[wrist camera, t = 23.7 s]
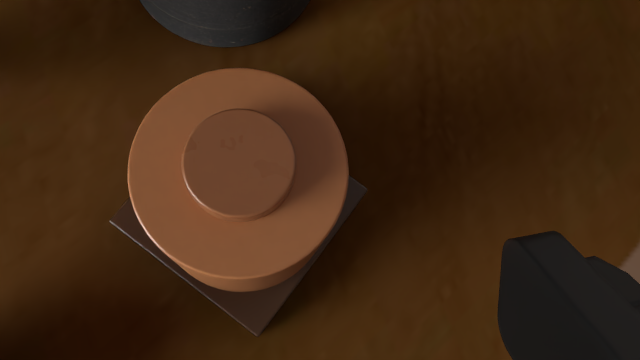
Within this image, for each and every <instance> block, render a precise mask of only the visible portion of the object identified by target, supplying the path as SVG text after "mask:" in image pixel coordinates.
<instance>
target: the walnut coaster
mask: <svg viewBox="0 0 640 360" xmlns="http://www.w3.org/2000/svg"><path fill="white" fill-rule="evenodd" d="M367 191H368V189H367V188H366V187H365V186H363V185H362V184H361V183H359V182H358V181H357V180H355V179H354V178H352V177H351V176H350V175H349V177H348V188H347V194H346V199H345V202H344V205H343V208H342V211H341V213H340V215H339V217H338V220H337V222H336V224H335V225H334V227H333V228H332V230H331V231H330V233H329V234H328V236H327V237H326V239H325V240H324V241H323V243H322V244H321V245H320V247H319V248H318V249H317V251H316V252H315V253H314V255H313V256H312V257H311V259H310V260H309V261H308V262H307V263H306V264H305V265H304V267H302V268H301V269H300V270H299V271H298V272H297V273H296V274H294V275H293V276H291V277H290V278H288V279H287V280H285V281H283V282H281V283H279V284H277V285H275V286H272V287H269V288H267V289H263V290H258V291H251V292H232V291H226V290H221V289H217V288H214V287H212V286H209V285H207V284H205V283H203V282H201V281H199V280H197V279H196V278H194V277H193V276H191V275H190V274H188V273H187V272H186V271H185V270H184V269H182V268H181V267H180V266H179V265H178V264H177V263H175V262H174V261H173V260H172V259H171V258H169V257H168V256H167V255H166V254H165V253H164V252H163V251H161V250H160V249H159V248H158V247H157V246H156V245H155V244H154V242H153V241H152V240H151V239H150V238H149V236H148V235H147V234H146V232H145V231H144V229H143V227H142V226H141V224H140V222H139V220H138V218H137V216H136V214H135V211H134V209H133V205H132V202H131V199H130V197H129V198H128V200H127V201H126V202H125V203H124V204H123V205H122V206H121V208H120V209H119V210H118V211H117V212H116V213H115V214H114V216H113V217H112V218H111V219H110V223H111V224H112V225H114V226H115V227H116V228H117V229H119V230H120V231H121V232H123V233H124V234H125V235H126V236H128V237H129V238H130V239H132V240H133V241H134V242H135V243H137V244H138V245H139V246H141V247H142V248H143V249H144V250H146V251H147V252H148V253H150V254H151V255H152V256H153V257H155V258H156V259H157V260H159V261H160V262H161V263H162V264H164V265H165V266H166V267H168V268H169V269H170V270H171V271H173V272H174V273H175V274H177V275H178V276H179V277H180V278H182V279H183V280H184V281H186V282H187V283H188V284H189V285H191V286H192V287H193V288H195V289H196V290H197V291H198V292H200V293H201V294H202V295H204V296H205V297H206V298H207V299H209V300H210V301H211V302H213V303H214V304H215V305H216V306H218V307H219V308H220V309H222V310H223V311H224V312H225V313H227V314H228V315H229V316H231V317H232V318H233V319H234V320H236V321H237V322H238V323H240V324H241V325H242V326H243V327H245V328H246V329H247V330H249V331H250V332H251V333H252V334H254V335H255V336H257V337H258V336H260V335H261V333H262V332H263V331H264V329H265V328H266V327H267V325H268V324H269V323H270V321H271V320H272V319H273V317H274V316H275V315H276V313H277V312H278V311H279V309H280V308H281V307H282V305H283V304H284V303H285V301H286V300H287V298H288V297H289V296H290V294H291V293H292V292H293V290H294V289H295V288H296V286H297V285H298V284H299V282H300V281H301V280H302V278H303V277H304V276H305V274H306V273H307V272H308V270H309V269H310V268H311V266H312V265H313V264H314V262H315V261H316V260H317V258H318V257H319V256H320V254H321V253H322V252H323V250H324V249H325V248H326V246H327V245H328V243H329V242H330V241H331V239H332V238H333V237H334V235H335V234H336V233H337V231H338V230H339V229H340V227H341V226H342V225H343V223H344V222H345V221H346V219H347V218H348V217H349V215H350V214H351V213H352V211H353V210H354V209H355V207H356V206H357V205H358V203H359V202H360V201H361V199H362V198H363V197H364V195H365V194H366V193H367Z"/></svg>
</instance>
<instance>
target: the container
mask: <svg viewBox="0 0 640 360" xmlns="http://www.w3.org/2000/svg"><path fill="white" fill-rule="evenodd" d="M309 1H310V0H140V2H141V3H142V5H143V6H144V7H145V8H146V10H147V11H148V12H149V14H150V15H151V16H152V17H153V18H154V19H155V20H156V21H158V22H159V23H160V24H161V25H162V26H164V27H165V28H167V29H168V30H169V31H171V32H173V33H174V34H176V35H178V36H180V37H182V38H185V39H187V40H189V41H192V42H195V43H199V44H202V45H207V46H214V47H237V46H244V45H250V44H254V43H258V42H261V41H263V40H266V39H268V38H270V37H272V36H274V35H276V34H278V33H279V32H281V31H283V30H284V29H285V28H287V27H288V26H289V25H290V24H291V23H293V22H294V21H295V20H296V19H297V18H298V17H299V16H300V14H301V13H302V12H303V11H304V9H305V8H306V6H307V5H308V3H309Z"/></svg>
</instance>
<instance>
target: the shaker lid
mask: <svg viewBox="0 0 640 360" xmlns="http://www.w3.org/2000/svg"><path fill="white" fill-rule="evenodd" d="M348 177H349V168H348V157H347V153H346V149H345V144H344V141H343V139H342V136H341V133H340V131H339V129H338V127H337V125H336V123H335V122H334V120H333V118H332V117H331V115H330V114H329V113H328V111H327V110H326V108H325V107H324V106H323V105H322V104H321V103H320V102H319V101H318V100H317V99H316V98H315V97H314V96H313V95H312V94H310V93H309V92H308V91H307V90H306V89H304V88H302V87H301V86H299V85H298V84H296V83H295V82H293V81H291V80H289V79H287V78H285V77H282V76H280V75H277V74H274V73H271V72H267V71H263V70H258V69H250V68H226V69H220V70H214V71H210V72H207V73H203V74H200V75H198V76H195V77H193V78H190V79H188V80H186V81H185V82H183V83H181V84H179V85H178V86H176V87H175V88H173V89H172V90H171V91H169V92H168V93H167V94H165V95H164V96H163V97H162V98H161V99H160V100H159V101H158V102H157V103H156V104H155V105H154V106H153V107H152V109H151V110H150V111H149V112H148V114H147V115H146V116H145V118H144V120H143V121H142V123H141V125H140V126H139V128H138V131H137V133H136V135H135V138H134V140H133V143H132V147H131V150H130V154H129V161H128V187H129V194H130V199H131V202H132V205H133V209H134V211H135V214H136V216H137V218H138V220H139V222H140V224H141V226H142V227H143V229H144V231H145V232H146V234H147V235H148V236H149V238H150V239H151V240H152V241H153V242H154V244H155V245H156V246H157V247H158V248H159V249H160V250H161V251H163V252H164V253H165V254H166V255H167V256H168V257H169V258H171V259H172V260H173V261H174V262H175V263H177V264H178V265H179V266H180V267H181V268H182V269H184V270H185V271H186V272H187V273H188V274H190V275H191V276H193V277H194V278H196V279H197V280H199V281H201V282H203V283H205V284H207V285H209V286H212V287H214V288H217V289H221V290H226V291H232V292H251V291H258V290H263V289H267V288H269V287H272V286H275V285H277V284H279V283H281V282H283V281H285V280H287V279H288V278H290V277H291V276H293V275H294V274H296V273H297V272H298V271H299V270H300V269H301V268H302V267H304V265H305V264H306V263H307V262H308V261H309V260H310V259H311V257H312V256H313V255H314V253H315V252H316V251H317V249H318V248H319V247H320V245H321V244H322V243H323V241H324V240H325V239H326V237H327V236H328V234H329V233H330V231H331V230H332V228H333V227H334V225H335V224H336V222H337V220H338V217H339V215H340V213H341V211H342V208H343V205H344V202H345V199H346V194H347V188H348Z"/></svg>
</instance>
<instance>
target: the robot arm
mask: <svg viewBox="0 0 640 360" xmlns="http://www.w3.org/2000/svg"><path fill="white" fill-rule="evenodd" d="M498 324H499V329H500V333H501V337H502V340H503V342H504V345H505V347H506V349H507V351H508V353H509V354H510V356H511V357H512V359H513V360H640V284H639V283H638V282H637V281H636V280H634V279H633V278H632V277H631V276H630V275H629V274H628V273H626V272H624V271H622V270H621V269H619V268H617V267H615V266H613V265H611V264H609V263H607V262H605V261H603V260H602V259H600V258H598V257H596V256H592V257H587V258H584V257H583V256H582V255H581V254H580V253H579V252H578V251H577V250H576V249H575V248H574V247H573V246H572V245H571V244H570V243H569V242H568V241H567V240H566V239H565V238H564V237H563V236H562V235H561V234H560V233H558V232H556V231H549V232H544V233H538V234H533V235H528V236H523V237H518V238H512V239H508V240H507V241H506V242H505V244H504V246H503V251H502V262H501V275H500V288H499V301H498Z"/></svg>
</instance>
